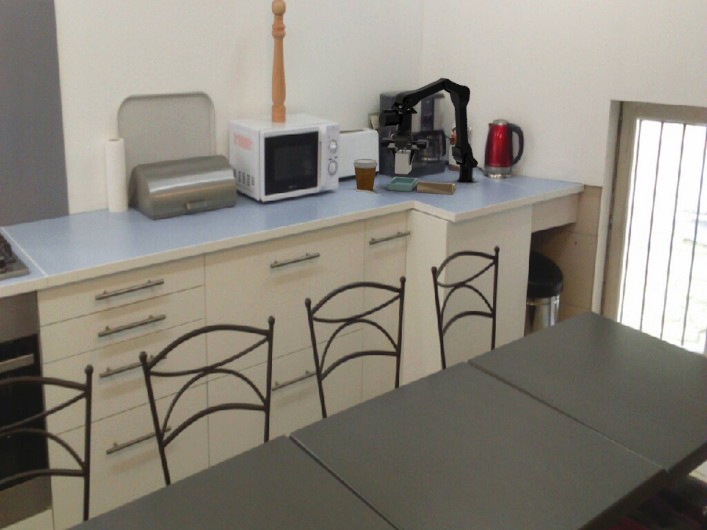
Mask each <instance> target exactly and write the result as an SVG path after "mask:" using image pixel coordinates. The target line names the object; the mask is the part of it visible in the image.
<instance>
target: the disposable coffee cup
mask: <svg viewBox="0 0 707 530" xmlns="http://www.w3.org/2000/svg"><path fill="white" fill-rule="evenodd" d="M352 165H353V167H354V173H355V174H354V176H355V184H356V190H357V191H367V192H370V193H373V192H374V185H375V178H376V173H377V167H378V165H379V164H378V163H377V160H376V159H373V158H358V159H355V160H354V162H353V164H352Z"/></svg>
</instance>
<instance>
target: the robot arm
mask: <svg viewBox="0 0 707 530" xmlns="http://www.w3.org/2000/svg"><path fill="white" fill-rule="evenodd" d="M441 91H445V92H446V93H448V95H449V97H450V101H451V103H452V105H453V107H454V122H455V123H454V125H455V139H456V142H455V144H454V145H452V146H451V156H452V158H453V159H454V161H455V165H458V166H459V171H458V178H457V180H456V181H457V182H463V183H464V182H466V183H473V182H474V180H475V178H474V168H477V167H478V165H479V162H478V160H477V159H476V158H475V157H474V153H473V152H474V151H473V148H472V146H471V144H470V142H469V129H468V109H467V108H468V105H469V102H470V100H471V88H470V87H469V86H467V85H463V84H459V83H457V82H454V81H453V80H451V79H449V78H447V77H446V78H445V77H440V78H438V79H437V80H435V81H433V82H430V83H428V84H426V85H424V86H423V85H422V87H419V88H417V89H413V90H406V91H403V92H399V93H397V94H396V98H395V100H394V102H393V103H392V105H391V106H390V108H389V109H387V108H382V109H381V112H380V114H379V116H378V123H379V126H380V127H381V128H388V127H389V128H390V127H391V128H392V127H397V130H396V135H395V138H394V139H393V137H382V139H380V140H379V147H381V148H383V147H384V148H387V149H388V150H390V151H391V154H392V155H393V158H394V159H395V154H396V153H397V152H398V151H399V150H398V149H399V148H405V147H406V148H407V147H409V146H410V147H411V149H410V150H411V155H410V165H411V163H412V162H413V160H414V158H415V155H416V153H417V151H419V150H420V149H421V150H427V149H428V148H429V146H430V145H429V142H430V141H429V140H428V139H418V140H417V141H416V140H414V136H413V133H412V132H413V115H416V114H418V111H417V110H415V107H416V106H417V105H418V104H419V103H420V102H421V101H422V100H424V99H426V98H428V97H430V96H431V97H432V96H433V95H435V94H437V93H439V92H441ZM412 164H413V163H412Z"/></svg>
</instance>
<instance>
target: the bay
mask: <svg viewBox="0 0 707 530" xmlns="http://www.w3.org/2000/svg"><path fill="white" fill-rule="evenodd" d="M416 187H417V188H416V191H417V192H416V193H425V194H437V195H439V194H440V195H452V194H453V193H454V191H455V190H456V183H450V182H434V181H433V182H432V181H418V182H417V185H416Z"/></svg>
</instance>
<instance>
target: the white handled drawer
mask: <svg viewBox="0 0 707 530" xmlns="http://www.w3.org/2000/svg"><path fill="white" fill-rule="evenodd" d="M410 155H411V149H407V147H402V149H399V150H398V152H397V153H396V154H395V158H394V174H397V175H398V174H399V175H408V174H409V173H410V172H411V171H412V168H413V167H412V164H413V163H411V165H410Z"/></svg>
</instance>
